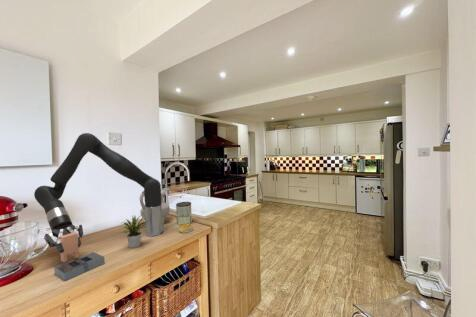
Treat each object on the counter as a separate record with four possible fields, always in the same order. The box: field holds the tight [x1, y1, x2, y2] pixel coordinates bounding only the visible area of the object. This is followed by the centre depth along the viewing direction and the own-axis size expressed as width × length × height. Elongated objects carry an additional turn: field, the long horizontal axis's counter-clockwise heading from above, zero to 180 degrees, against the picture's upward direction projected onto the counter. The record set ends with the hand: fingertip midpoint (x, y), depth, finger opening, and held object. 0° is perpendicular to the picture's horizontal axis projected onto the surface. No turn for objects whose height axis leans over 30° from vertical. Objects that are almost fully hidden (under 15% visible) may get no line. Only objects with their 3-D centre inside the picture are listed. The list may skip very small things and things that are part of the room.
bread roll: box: [177, 224, 194, 234], centre depth 124 cm, size 8×9×4 cm
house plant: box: [121, 215, 150, 249], centre depth 103 cm, size 14×14×16 cm
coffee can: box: [175, 201, 193, 226], centre depth 139 cm, size 10×10×14 cm
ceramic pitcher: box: [139, 187, 171, 223], centre depth 141 cm, size 22×20×25 cm
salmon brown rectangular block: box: [59, 231, 80, 263], centre depth 90 cm, size 6×4×11 cm, turn 150°
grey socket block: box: [53, 251, 105, 282], centre depth 84 cm, size 14×10×3 cm
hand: (71, 248), depth 89 cm, fingers closed on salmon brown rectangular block, 5 cm apart
